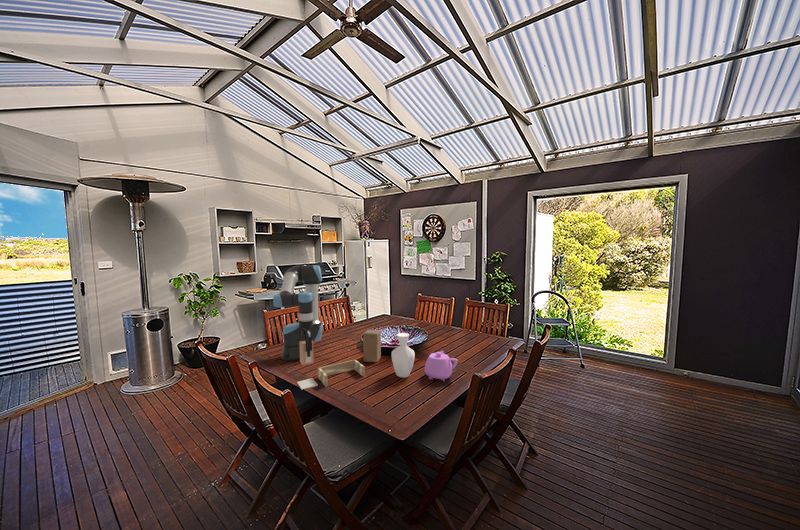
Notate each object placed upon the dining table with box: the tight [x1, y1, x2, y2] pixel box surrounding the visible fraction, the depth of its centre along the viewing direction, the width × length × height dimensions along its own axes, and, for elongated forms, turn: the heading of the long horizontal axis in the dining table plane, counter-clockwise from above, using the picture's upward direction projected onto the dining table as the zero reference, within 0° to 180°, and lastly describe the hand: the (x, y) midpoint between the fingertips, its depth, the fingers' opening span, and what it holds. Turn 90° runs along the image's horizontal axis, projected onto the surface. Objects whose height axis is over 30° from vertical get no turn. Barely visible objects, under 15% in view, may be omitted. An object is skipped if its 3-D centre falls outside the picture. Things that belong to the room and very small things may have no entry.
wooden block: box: [362, 328, 382, 363], centre depth 206 cm, size 10×10×20 cm
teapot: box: [424, 350, 458, 381], centre depth 182 cm, size 20×20×15 cm
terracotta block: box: [299, 341, 315, 366], centre depth 170 cm, size 6×6×12 cm
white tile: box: [296, 377, 319, 391], centre depth 171 cm, size 10×9×1 cm
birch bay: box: [317, 358, 366, 388], centre depth 180 cm, size 14×24×6 cm, turn 123°
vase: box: [391, 332, 416, 378], centre depth 183 cm, size 14×14×25 cm
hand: (306, 359), depth 170 cm, fingers closed on terracotta block, 6 cm apart
